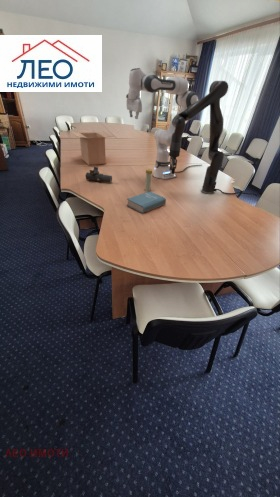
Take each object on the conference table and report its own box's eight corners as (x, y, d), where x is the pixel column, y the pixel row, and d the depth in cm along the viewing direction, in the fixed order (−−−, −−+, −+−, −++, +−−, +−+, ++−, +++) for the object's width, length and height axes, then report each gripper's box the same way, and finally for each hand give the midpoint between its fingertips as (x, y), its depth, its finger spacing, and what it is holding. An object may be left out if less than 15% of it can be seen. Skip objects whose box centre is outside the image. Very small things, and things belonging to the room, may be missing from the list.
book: (149, 197, 168) (149, 191, 165) (165, 204, 160) (166, 198, 157) (127, 205, 155) (127, 198, 152) (143, 213, 146) (143, 207, 143)
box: (116, 165, 229) (116, 136, 213) (83, 168, 214) (80, 137, 198) (102, 154, 259) (101, 128, 243) (71, 156, 244) (68, 129, 228)
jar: (145, 188, 183) (147, 169, 173) (150, 189, 182) (152, 170, 173) (144, 190, 180) (145, 170, 170) (149, 191, 179) (151, 171, 169)
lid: (146, 171, 175) (146, 168, 174) (152, 172, 174) (153, 169, 173) (145, 173, 171) (145, 170, 170) (151, 174, 170) (151, 171, 169)
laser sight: (109, 184, 185) (109, 172, 179) (84, 181, 187) (82, 169, 182) (112, 180, 192) (112, 169, 186) (88, 177, 195) (87, 166, 189)
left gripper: (144, 97, 156) (143, 120, 164) (132, 95, 170) (131, 116, 179) (136, 97, 153) (135, 119, 162) (125, 95, 168) (124, 116, 176)
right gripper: (182, 151, 152) (178, 175, 161) (178, 146, 163) (174, 169, 173) (171, 151, 151) (168, 174, 161) (168, 146, 162) (165, 168, 172)
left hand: (133, 118), depth 170 cm, fingers open, 8 cm apart
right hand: (171, 171), depth 167 cm, fingers open, 8 cm apart
